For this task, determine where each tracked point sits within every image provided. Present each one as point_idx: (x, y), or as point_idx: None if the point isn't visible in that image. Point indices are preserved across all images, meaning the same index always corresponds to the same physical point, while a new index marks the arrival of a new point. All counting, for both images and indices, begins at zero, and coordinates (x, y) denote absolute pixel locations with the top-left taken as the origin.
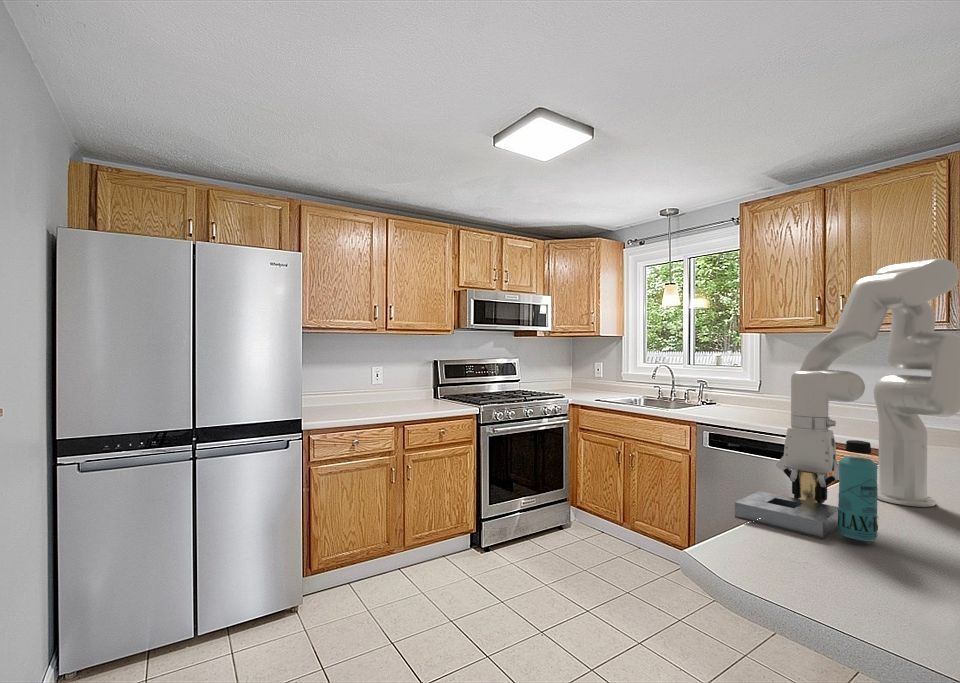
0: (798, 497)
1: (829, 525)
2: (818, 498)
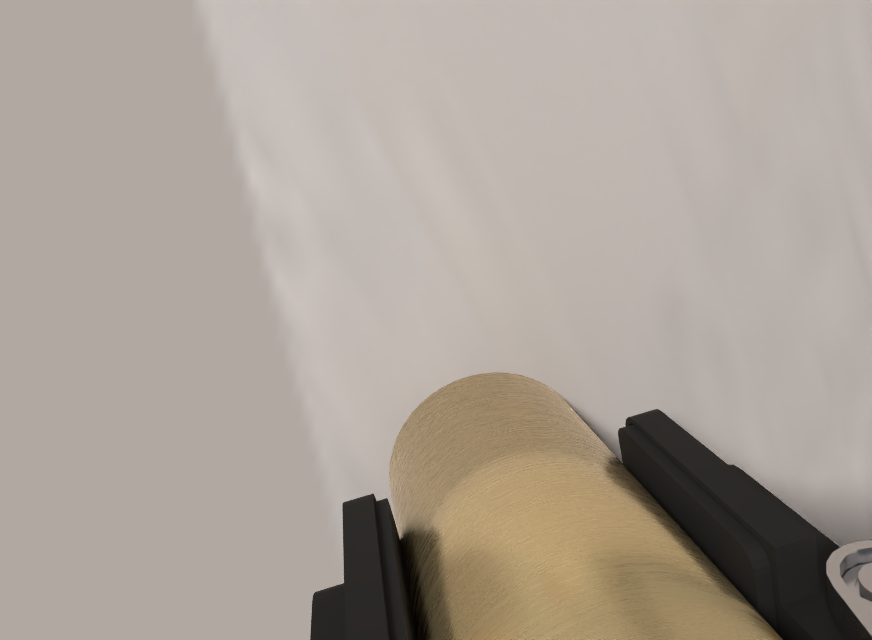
0: None
1: None
2: None
